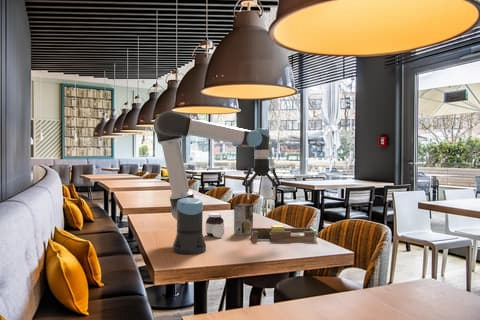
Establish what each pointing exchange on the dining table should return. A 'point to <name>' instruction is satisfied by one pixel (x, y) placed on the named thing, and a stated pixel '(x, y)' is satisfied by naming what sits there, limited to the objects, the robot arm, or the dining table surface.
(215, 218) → the spread jar
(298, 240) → the box
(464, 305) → the dining table surface
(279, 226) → the block
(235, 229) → the coffee box
